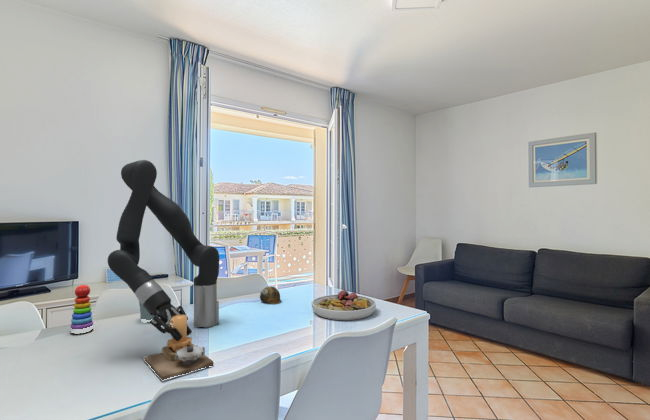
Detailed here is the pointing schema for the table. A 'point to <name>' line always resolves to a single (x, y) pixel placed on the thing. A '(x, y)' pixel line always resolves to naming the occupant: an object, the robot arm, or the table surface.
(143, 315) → the grey cup
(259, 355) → the table surface
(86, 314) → the stacking toy
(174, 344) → the orange gear spindle
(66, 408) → the table surface
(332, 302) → the bowl
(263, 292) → the seashell
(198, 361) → the gear board
